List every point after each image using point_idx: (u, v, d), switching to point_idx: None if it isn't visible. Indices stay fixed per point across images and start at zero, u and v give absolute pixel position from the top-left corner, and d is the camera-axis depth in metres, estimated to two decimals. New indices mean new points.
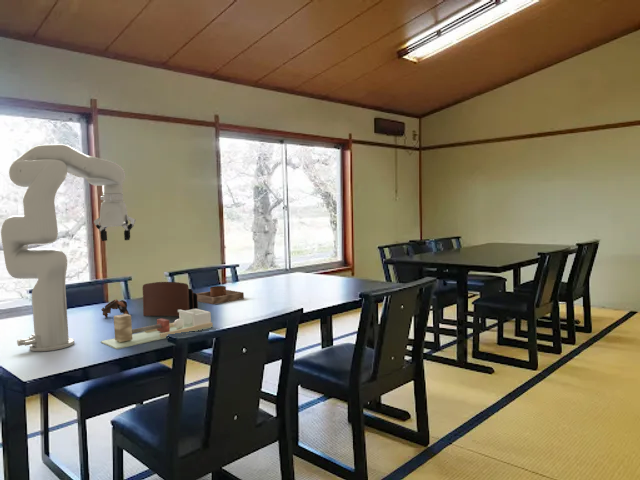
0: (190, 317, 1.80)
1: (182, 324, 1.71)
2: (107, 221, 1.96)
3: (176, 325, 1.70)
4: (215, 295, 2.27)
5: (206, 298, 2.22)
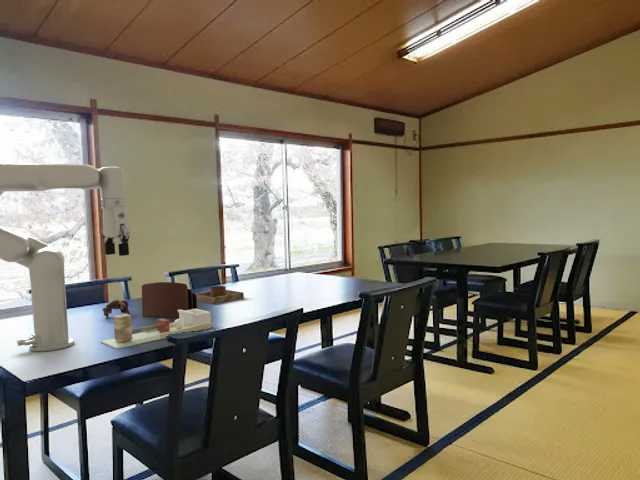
0: (190, 317, 1.80)
1: (182, 324, 1.71)
2: None
3: (176, 325, 1.70)
4: (215, 295, 2.27)
5: (206, 298, 2.22)
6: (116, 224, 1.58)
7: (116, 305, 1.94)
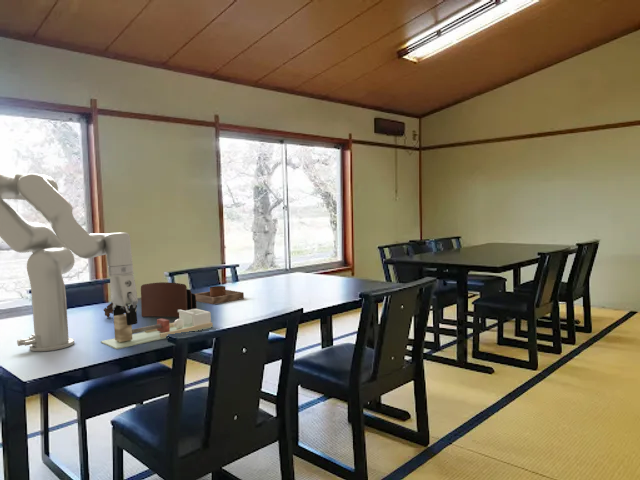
0: (190, 317, 1.80)
1: (182, 324, 1.71)
2: None
3: (176, 325, 1.70)
4: (215, 295, 2.27)
5: (206, 298, 2.22)
6: (123, 293, 1.52)
7: None
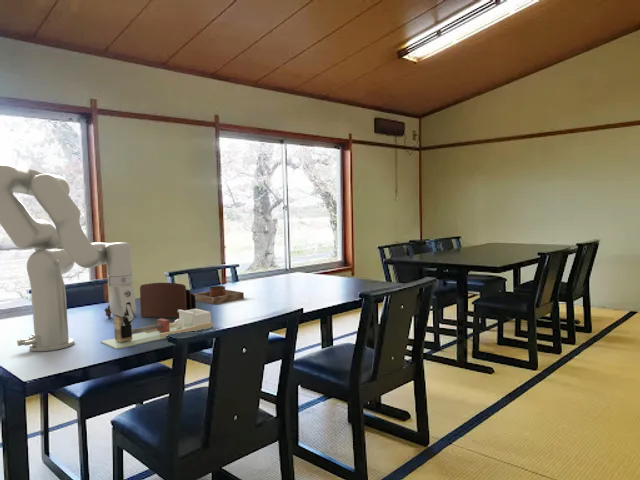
0: (190, 317, 1.80)
1: (182, 324, 1.71)
2: None
3: (176, 325, 1.70)
4: (214, 295, 2.27)
5: (206, 298, 2.22)
6: (122, 303, 1.53)
7: None
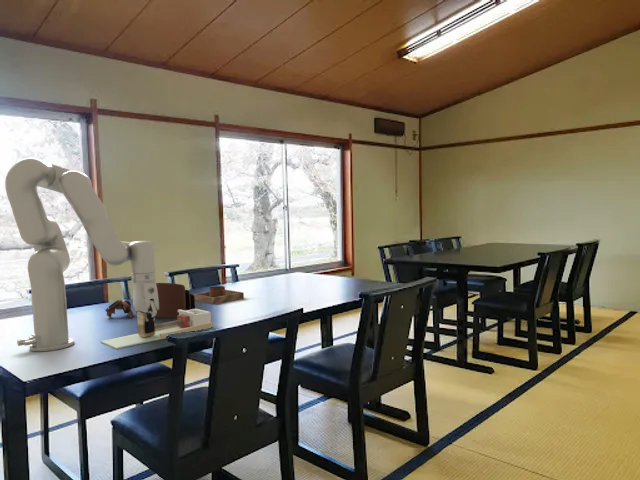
0: (190, 317, 1.80)
1: None
2: None
3: None
4: (214, 295, 2.27)
5: (206, 298, 2.22)
6: (146, 299, 1.58)
7: (119, 305, 1.94)
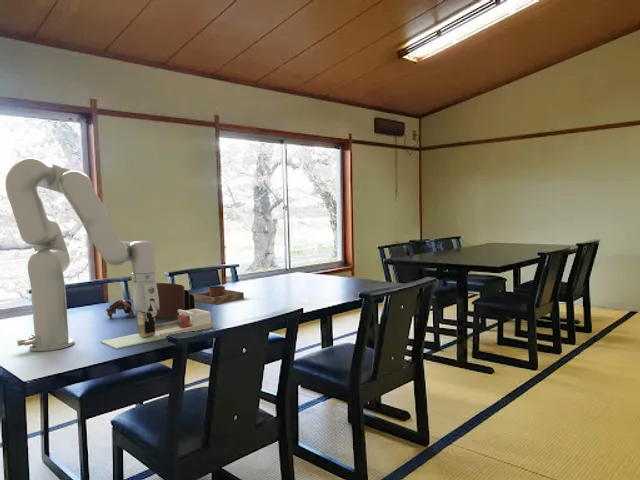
0: None
1: None
2: None
3: None
4: (214, 295, 2.27)
5: (206, 298, 2.22)
6: (146, 299, 1.58)
7: (120, 305, 1.94)
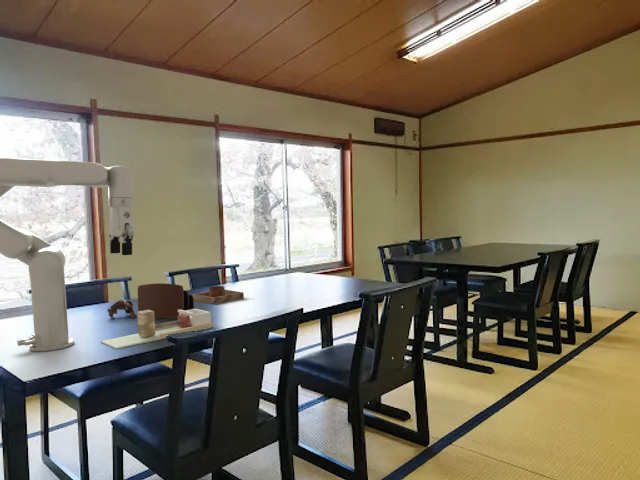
0: None
1: None
2: None
3: None
4: (214, 295, 2.27)
5: (206, 298, 2.22)
6: (121, 223, 1.58)
7: (121, 305, 1.93)
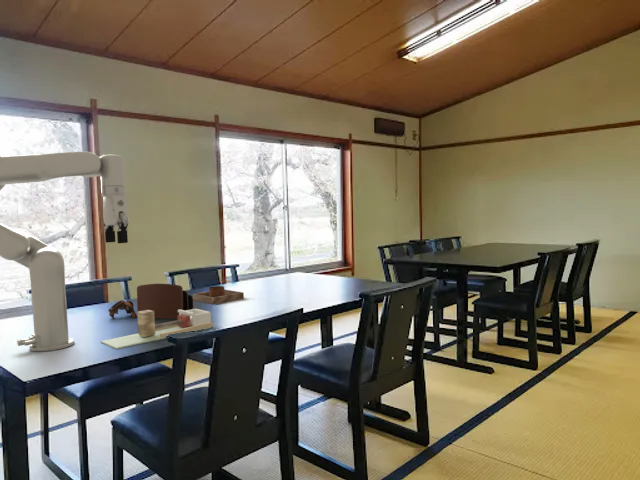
0: None
1: None
2: None
3: None
4: (213, 295, 2.27)
5: (206, 298, 2.22)
6: (115, 211, 1.59)
7: (122, 305, 1.93)
